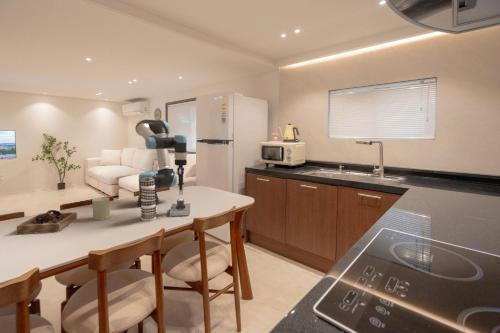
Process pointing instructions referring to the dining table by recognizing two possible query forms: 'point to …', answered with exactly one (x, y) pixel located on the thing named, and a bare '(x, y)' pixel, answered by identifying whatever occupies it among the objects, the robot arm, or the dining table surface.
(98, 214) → the can
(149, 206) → the decorative candle
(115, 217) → the dining table surface
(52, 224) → the tray
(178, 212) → the socket plate
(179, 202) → the plug
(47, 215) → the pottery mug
